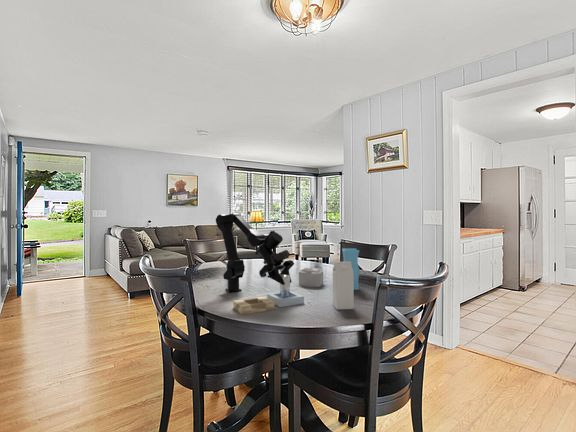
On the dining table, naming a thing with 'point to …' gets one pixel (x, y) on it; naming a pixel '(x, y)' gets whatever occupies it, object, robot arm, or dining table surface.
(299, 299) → the seat block
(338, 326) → the dining table surface
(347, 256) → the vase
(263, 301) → the tan rectangular frame
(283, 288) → the steel axle
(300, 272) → the lumpy-topped squat cylinder
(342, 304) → the milk carton
